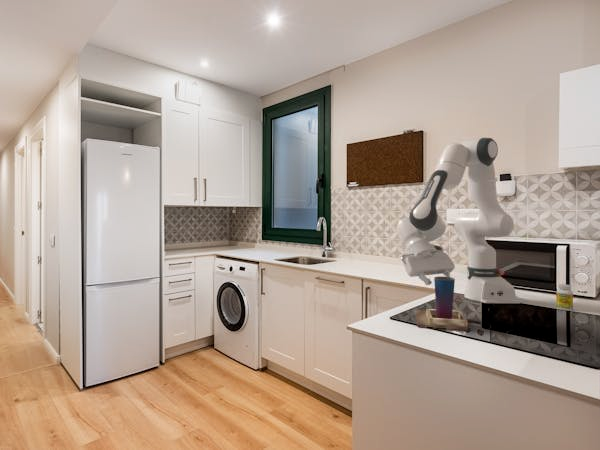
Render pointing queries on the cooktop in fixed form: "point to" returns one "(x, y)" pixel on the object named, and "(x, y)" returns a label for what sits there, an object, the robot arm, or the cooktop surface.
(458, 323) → the light wooden shallow tray
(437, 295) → the cup
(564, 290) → the supplement bottle
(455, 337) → the cooktop surface
